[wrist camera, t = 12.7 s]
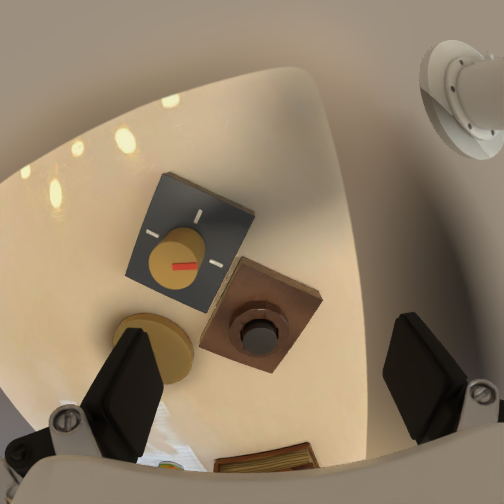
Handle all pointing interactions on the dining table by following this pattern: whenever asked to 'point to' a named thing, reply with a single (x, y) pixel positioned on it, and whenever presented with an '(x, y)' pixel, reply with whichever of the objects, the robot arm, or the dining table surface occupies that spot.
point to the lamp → (163, 344)
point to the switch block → (259, 314)
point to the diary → (270, 461)
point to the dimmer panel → (200, 220)
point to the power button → (259, 337)
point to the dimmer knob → (177, 258)
